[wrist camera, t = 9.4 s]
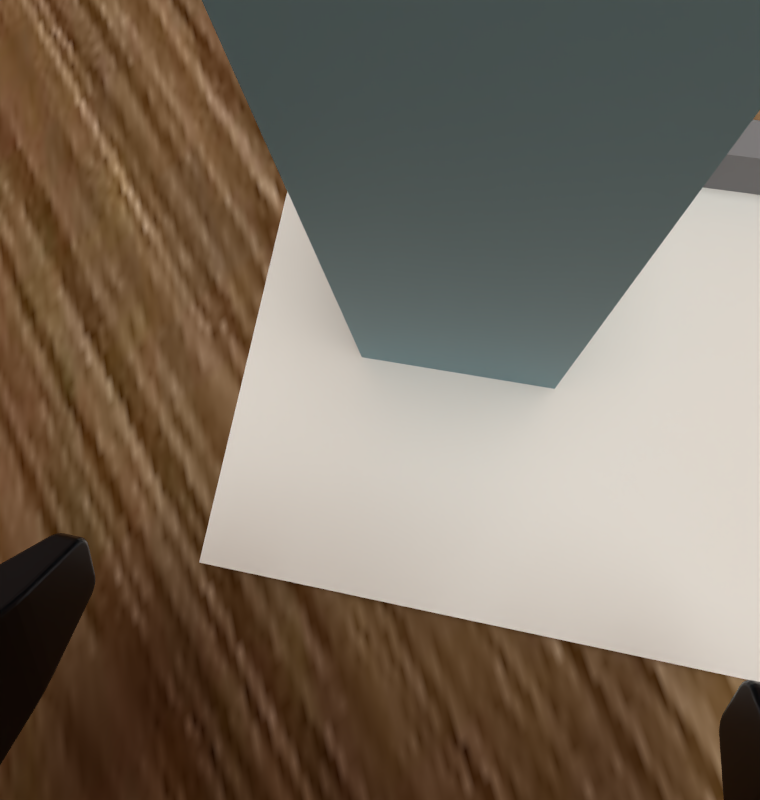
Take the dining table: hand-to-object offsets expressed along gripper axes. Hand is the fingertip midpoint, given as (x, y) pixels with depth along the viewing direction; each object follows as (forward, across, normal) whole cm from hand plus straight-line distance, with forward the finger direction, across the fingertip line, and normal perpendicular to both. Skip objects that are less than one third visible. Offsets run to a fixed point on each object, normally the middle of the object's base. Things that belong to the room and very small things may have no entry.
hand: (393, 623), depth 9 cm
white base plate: (+10, -4, +2) cm, 11 cm away
